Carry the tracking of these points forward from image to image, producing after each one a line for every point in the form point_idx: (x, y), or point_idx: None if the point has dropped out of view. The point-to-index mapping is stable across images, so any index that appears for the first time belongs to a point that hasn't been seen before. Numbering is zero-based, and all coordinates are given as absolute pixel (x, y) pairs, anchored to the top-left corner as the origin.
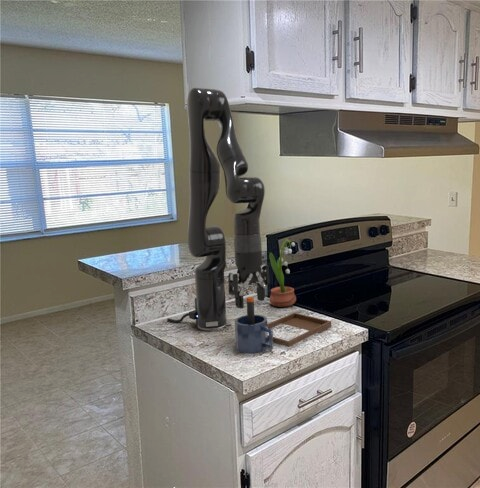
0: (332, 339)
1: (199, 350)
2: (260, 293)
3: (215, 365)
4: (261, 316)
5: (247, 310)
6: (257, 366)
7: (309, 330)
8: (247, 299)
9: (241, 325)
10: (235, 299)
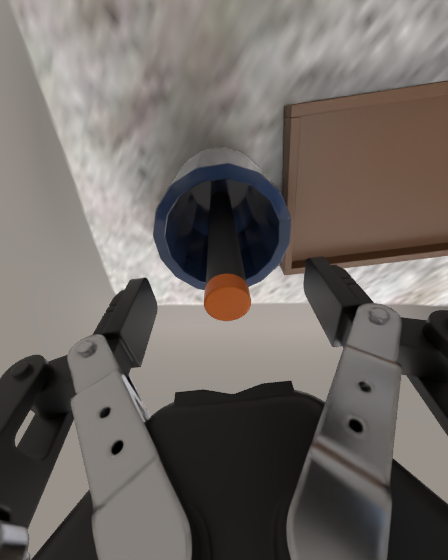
0: (376, 293)
1: (65, 48)
2: (321, 304)
3: (86, 214)
4: (278, 239)
5: (207, 259)
6: (170, 283)
7: (411, 228)
8: (204, 303)
9: (160, 257)
10: (101, 324)
